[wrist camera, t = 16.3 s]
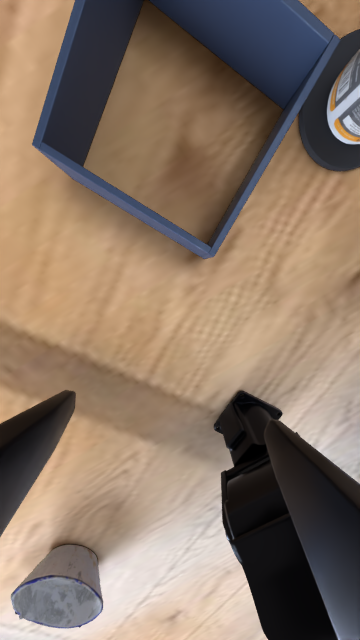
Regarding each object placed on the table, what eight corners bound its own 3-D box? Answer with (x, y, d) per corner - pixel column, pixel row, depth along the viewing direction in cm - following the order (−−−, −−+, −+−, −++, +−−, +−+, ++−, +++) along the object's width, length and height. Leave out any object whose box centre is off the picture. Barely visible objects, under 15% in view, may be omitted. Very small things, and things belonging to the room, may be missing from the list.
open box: (291, 107, 16) (341, 39, 11) (204, 259, 19) (213, 257, 14) (141, -16, 14) (123, -164, 9) (72, 178, 17) (31, 144, 12)
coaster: (429, 84, 16) (439, 77, 15) (353, 192, 18) (359, 189, 17) (349, 5, 14) (357, -6, 14) (277, 132, 16) (280, 127, 16)
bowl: (78, 590, 35) (63, 640, 30) (18, 558, 32) (-9, 608, 27) (128, 559, 32) (120, 608, 28) (68, 522, 30) (48, 570, 25)
